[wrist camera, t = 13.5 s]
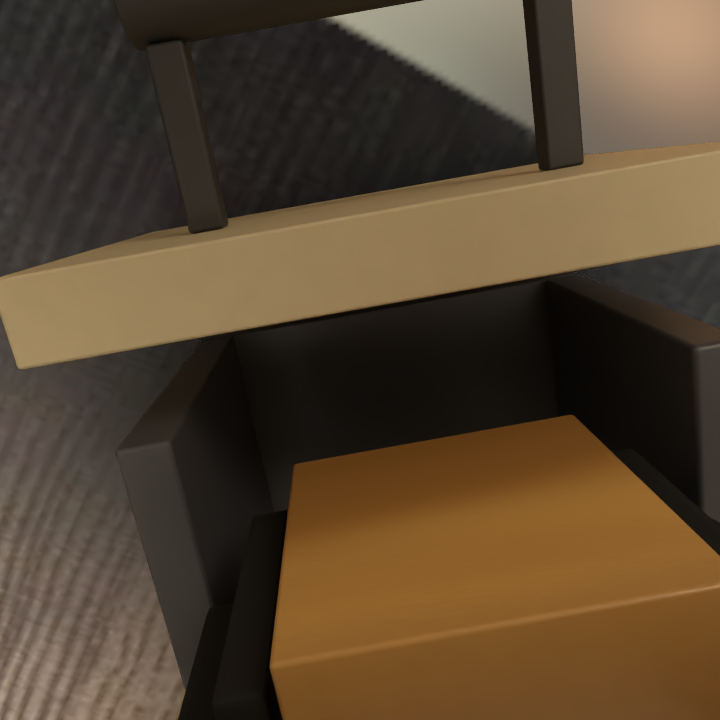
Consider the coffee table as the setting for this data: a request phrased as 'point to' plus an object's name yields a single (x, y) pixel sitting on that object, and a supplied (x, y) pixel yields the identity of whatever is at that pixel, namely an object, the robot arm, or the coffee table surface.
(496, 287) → the drawer
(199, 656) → the robot arm
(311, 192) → the coffee table surface
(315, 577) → the block
